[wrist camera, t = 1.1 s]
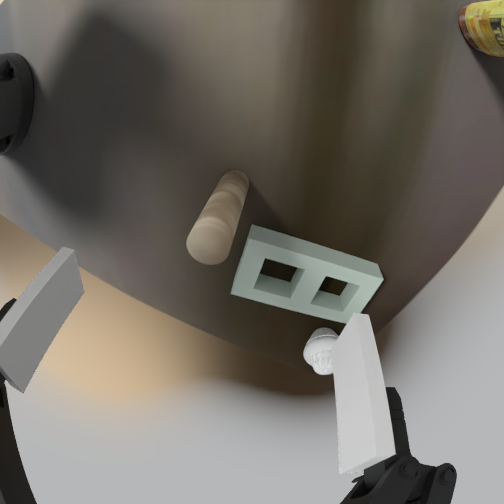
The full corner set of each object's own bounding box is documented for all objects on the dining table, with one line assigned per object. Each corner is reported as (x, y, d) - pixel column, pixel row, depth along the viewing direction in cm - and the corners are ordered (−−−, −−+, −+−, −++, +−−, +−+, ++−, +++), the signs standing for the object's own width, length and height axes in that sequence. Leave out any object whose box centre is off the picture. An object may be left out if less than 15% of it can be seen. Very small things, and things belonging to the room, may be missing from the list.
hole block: (234, 277, 36) (230, 293, 34) (252, 224, 32) (249, 238, 29) (348, 308, 37) (351, 324, 35) (377, 264, 33) (383, 279, 30)
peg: (217, 192, 30) (183, 257, 20) (224, 166, 28) (190, 221, 18) (244, 200, 30) (224, 269, 20) (252, 174, 28) (234, 234, 18)
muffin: (326, 350, 43) (329, 387, 37) (294, 339, 42) (294, 377, 36) (352, 328, 39) (358, 367, 34) (319, 314, 38) (322, 355, 33)
